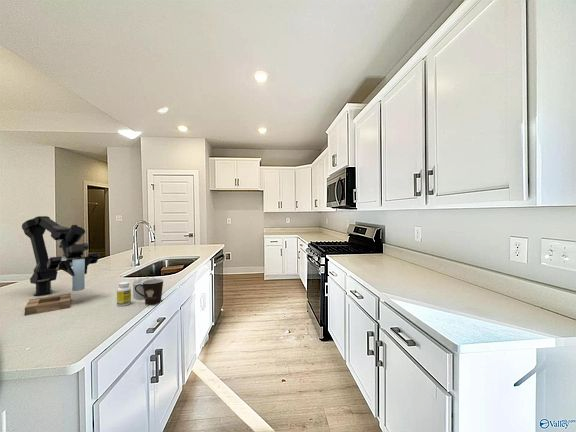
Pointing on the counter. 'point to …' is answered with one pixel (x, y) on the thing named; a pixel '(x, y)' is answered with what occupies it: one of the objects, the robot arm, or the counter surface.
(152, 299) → the coffee mug
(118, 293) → the supplement bottle
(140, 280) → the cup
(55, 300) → the holder
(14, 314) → the counter surface
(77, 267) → the peg
